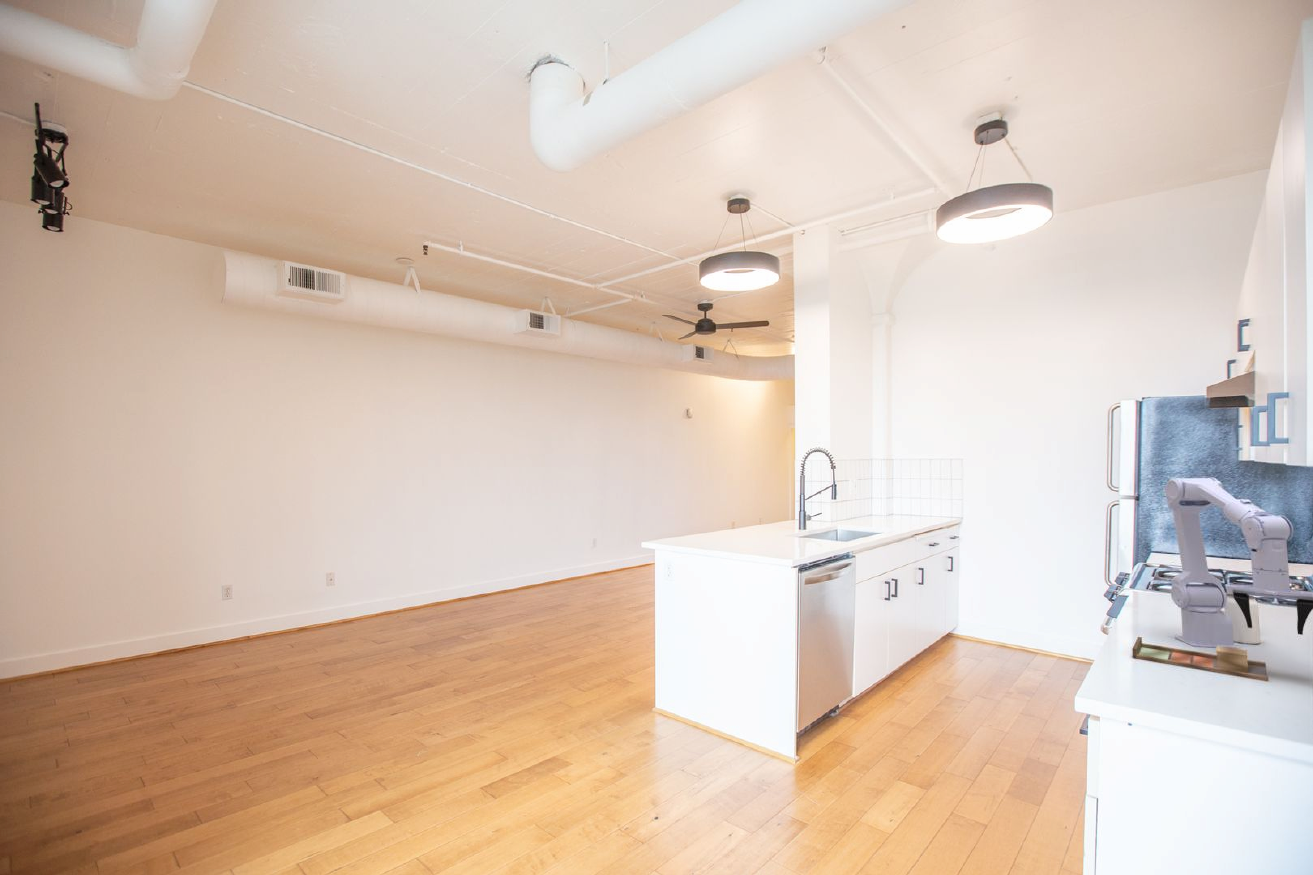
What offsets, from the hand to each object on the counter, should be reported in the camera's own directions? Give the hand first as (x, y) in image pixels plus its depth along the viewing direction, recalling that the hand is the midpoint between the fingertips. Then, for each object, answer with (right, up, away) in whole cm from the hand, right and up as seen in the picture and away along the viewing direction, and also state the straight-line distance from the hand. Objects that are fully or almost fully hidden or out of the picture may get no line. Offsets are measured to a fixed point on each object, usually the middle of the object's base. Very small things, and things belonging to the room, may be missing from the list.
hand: (1274, 630), depth 129 cm
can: (+19, -12, +25) cm, 33 cm away
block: (-4, -11, +5) cm, 12 cm away
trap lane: (-8, -11, +9) cm, 17 cm away
